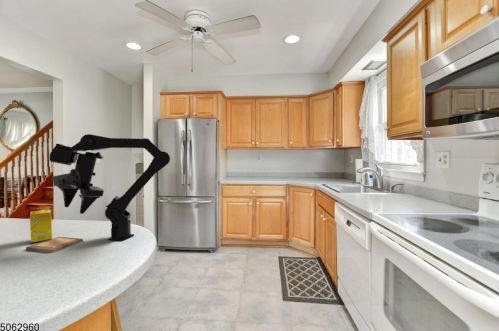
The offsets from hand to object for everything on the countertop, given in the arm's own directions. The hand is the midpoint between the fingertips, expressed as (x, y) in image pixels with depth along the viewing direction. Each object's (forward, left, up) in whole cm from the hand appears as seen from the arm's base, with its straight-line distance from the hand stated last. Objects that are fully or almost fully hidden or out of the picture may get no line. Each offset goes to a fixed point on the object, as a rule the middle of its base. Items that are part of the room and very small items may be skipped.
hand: (73, 210), depth 86 cm
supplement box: (+1, -14, -12) cm, 19 cm away
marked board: (+4, -4, -12) cm, 13 cm away
